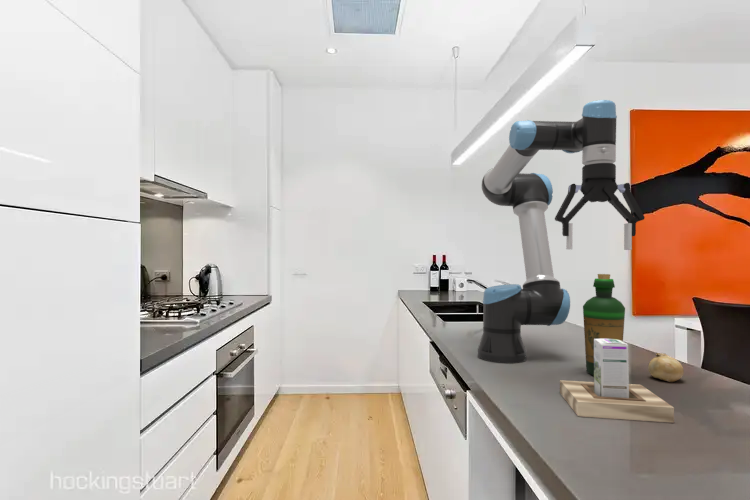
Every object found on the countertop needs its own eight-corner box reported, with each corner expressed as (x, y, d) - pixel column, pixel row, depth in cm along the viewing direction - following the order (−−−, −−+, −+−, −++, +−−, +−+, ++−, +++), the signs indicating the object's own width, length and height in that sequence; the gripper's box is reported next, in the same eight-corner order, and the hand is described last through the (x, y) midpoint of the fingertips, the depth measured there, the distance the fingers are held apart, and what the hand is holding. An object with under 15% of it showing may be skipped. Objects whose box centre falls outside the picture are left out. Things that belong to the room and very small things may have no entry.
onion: (680, 378, 123) (680, 352, 123) (686, 385, 116) (686, 358, 116) (646, 374, 126) (646, 349, 126) (650, 381, 119) (650, 354, 119)
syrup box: (630, 411, 96) (630, 343, 96) (600, 409, 97) (600, 342, 97) (620, 403, 101) (621, 338, 101) (592, 401, 102) (592, 337, 102)
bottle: (584, 377, 122) (585, 274, 122) (580, 368, 132) (580, 273, 132) (629, 381, 119) (629, 275, 119) (621, 371, 129) (621, 273, 129)
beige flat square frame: (559, 392, 108) (559, 379, 108) (640, 397, 105) (640, 383, 105) (578, 416, 93) (578, 400, 93) (673, 422, 90) (673, 406, 90)
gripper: (549, 162, 110) (548, 249, 110) (660, 160, 106) (659, 249, 106) (543, 168, 118) (542, 249, 118) (646, 166, 114) (646, 250, 113)
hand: (598, 249), depth 112 cm, fingers open, 13 cm apart
